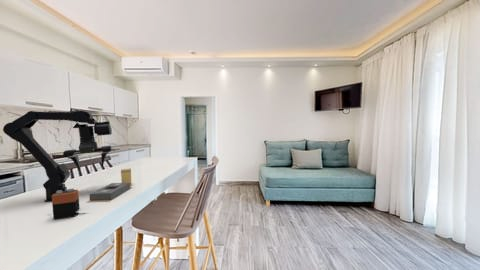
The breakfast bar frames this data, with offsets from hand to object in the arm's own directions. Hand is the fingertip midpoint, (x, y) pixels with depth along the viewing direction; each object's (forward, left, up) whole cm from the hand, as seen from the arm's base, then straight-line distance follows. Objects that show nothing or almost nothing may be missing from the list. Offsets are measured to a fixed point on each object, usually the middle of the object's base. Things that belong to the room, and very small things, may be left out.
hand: (91, 168), depth 102 cm
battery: (-2, -26, -13) cm, 29 cm away
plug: (+15, +2, -13) cm, 20 cm away
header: (+10, -10, -13) cm, 19 cm away
